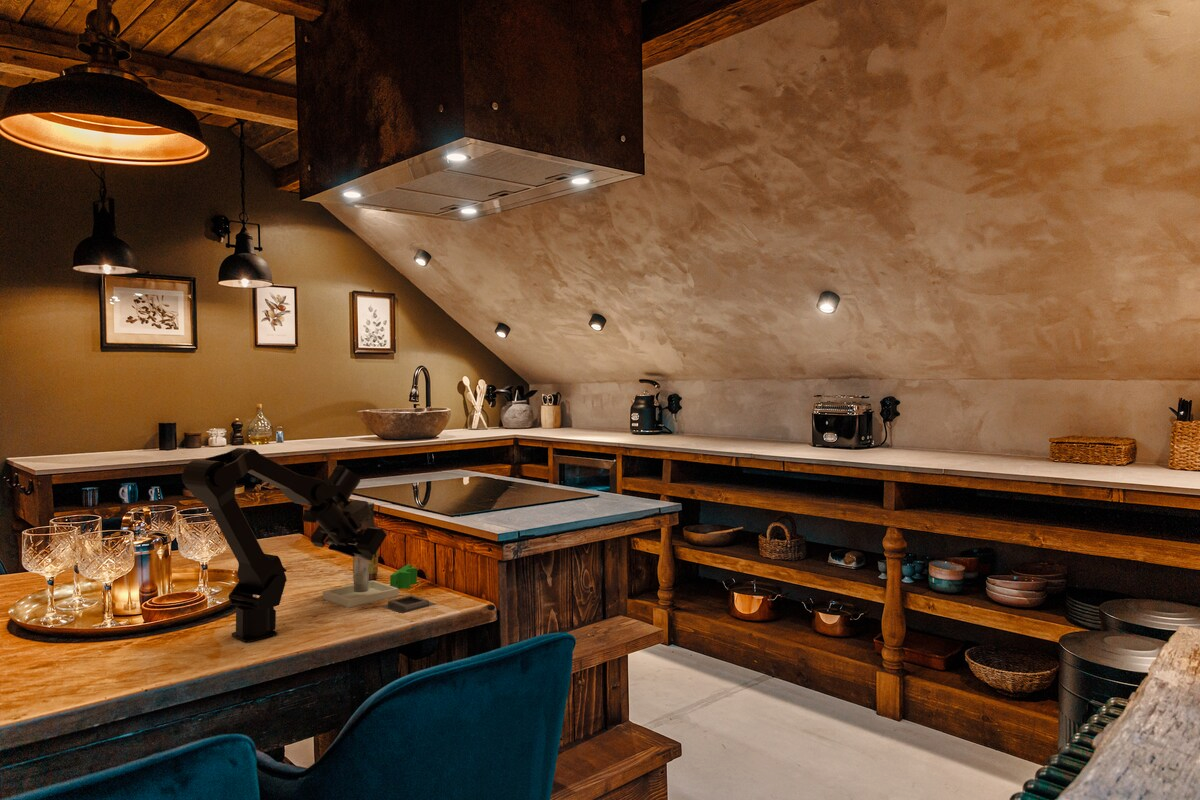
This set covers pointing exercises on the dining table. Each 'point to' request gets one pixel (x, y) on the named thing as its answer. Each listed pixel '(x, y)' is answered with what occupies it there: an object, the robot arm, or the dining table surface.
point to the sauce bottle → (374, 562)
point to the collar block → (407, 604)
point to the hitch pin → (361, 574)
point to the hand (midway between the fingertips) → (365, 557)
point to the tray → (360, 594)
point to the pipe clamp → (404, 577)
